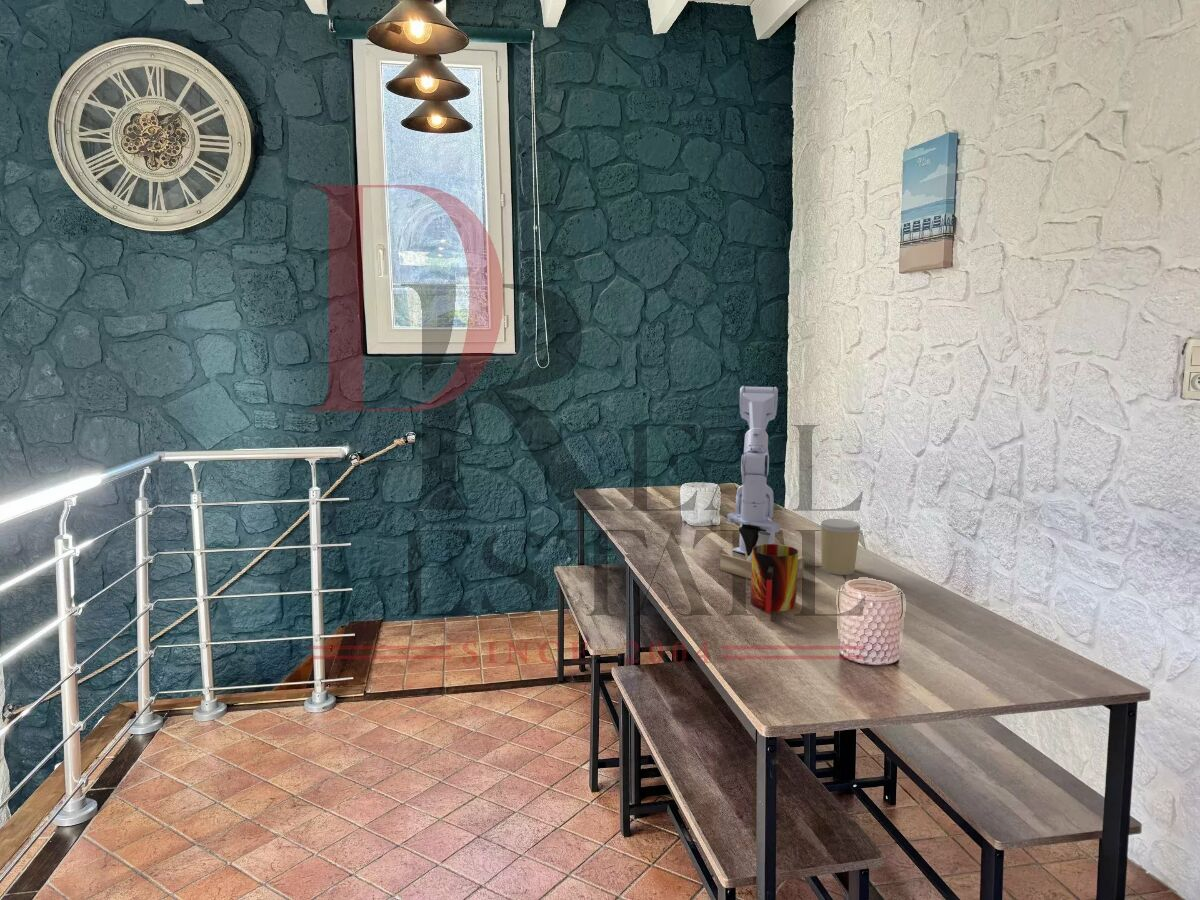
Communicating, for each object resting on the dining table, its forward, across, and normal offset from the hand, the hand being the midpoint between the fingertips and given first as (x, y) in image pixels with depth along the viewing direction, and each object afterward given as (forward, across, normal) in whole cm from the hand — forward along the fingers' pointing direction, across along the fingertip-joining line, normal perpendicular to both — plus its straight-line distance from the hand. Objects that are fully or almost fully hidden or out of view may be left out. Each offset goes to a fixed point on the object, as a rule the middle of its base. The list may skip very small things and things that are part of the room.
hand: (751, 555), depth 197 cm
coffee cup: (+4, +14, +17) cm, 22 cm away
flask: (+3, +2, -1) cm, 4 cm away
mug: (+4, +20, -16) cm, 26 cm away
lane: (+4, +2, 0) cm, 5 cm away
